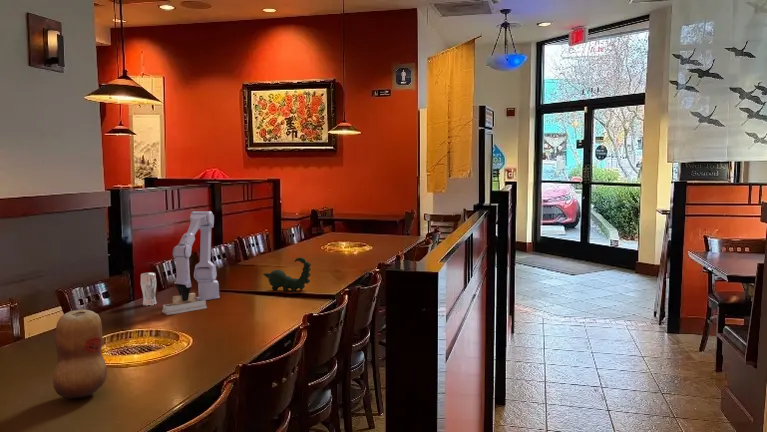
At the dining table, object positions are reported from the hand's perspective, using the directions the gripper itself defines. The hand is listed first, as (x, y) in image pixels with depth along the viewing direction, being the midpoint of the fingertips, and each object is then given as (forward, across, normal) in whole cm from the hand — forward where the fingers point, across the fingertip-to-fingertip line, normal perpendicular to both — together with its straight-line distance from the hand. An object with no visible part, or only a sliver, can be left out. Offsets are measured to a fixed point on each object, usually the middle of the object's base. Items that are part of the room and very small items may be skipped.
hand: (184, 300), depth 252 cm
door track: (+5, 0, 0) cm, 5 cm away
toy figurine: (+5, -3, +55) cm, 55 cm away
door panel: (+3, 0, 0) cm, 3 cm away
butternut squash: (+5, +76, -56) cm, 95 cm away
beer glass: (+5, -23, -9) cm, 25 cm away
